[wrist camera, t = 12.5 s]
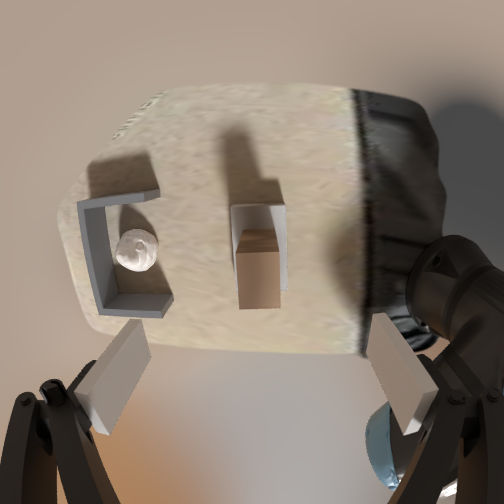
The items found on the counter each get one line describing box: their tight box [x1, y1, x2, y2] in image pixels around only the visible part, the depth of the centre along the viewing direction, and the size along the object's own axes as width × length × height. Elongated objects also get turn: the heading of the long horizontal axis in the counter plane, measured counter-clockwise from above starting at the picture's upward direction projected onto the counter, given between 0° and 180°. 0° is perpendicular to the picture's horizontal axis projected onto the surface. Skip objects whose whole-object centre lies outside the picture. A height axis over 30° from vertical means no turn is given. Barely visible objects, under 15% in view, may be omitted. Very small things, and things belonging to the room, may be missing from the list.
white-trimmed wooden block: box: [230, 202, 287, 309], centre depth 29 cm, size 6×10×12 cm, turn 3°
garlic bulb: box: [116, 229, 158, 271], centre depth 33 cm, size 6×6×5 cm
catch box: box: [77, 189, 174, 318], centre depth 33 cm, size 10×15×5 cm, turn 3°
